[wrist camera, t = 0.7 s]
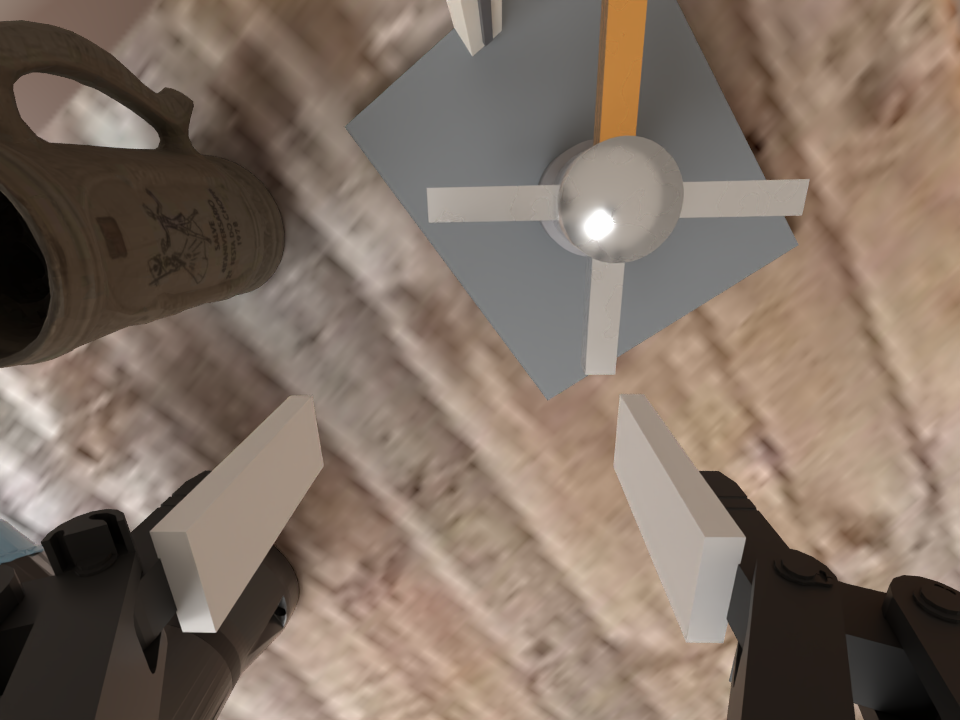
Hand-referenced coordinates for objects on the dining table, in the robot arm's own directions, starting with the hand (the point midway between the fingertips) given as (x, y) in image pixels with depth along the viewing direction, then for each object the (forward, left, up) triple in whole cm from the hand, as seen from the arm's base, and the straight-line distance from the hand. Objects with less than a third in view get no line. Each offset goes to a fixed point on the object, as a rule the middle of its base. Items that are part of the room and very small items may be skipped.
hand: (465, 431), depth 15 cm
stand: (+10, +3, -24) cm, 26 cm away
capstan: (+10, +2, -17) cm, 20 cm away
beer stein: (-13, +18, -24) cm, 33 cm away
